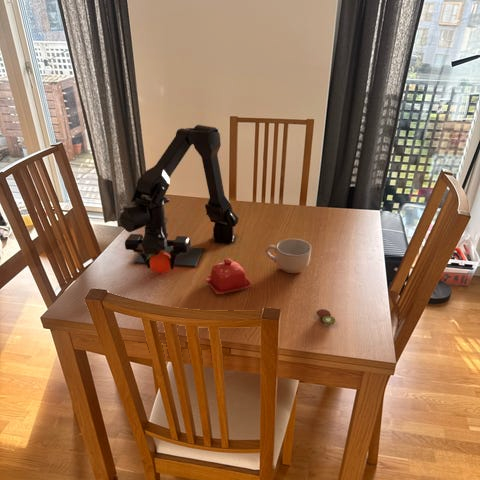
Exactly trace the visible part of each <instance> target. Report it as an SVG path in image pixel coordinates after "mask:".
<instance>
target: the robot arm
mask: <svg viewBox="0 0 480 480" xmlns="http://www.w3.org/2000/svg"><path fill="white" fill-rule="evenodd" d="M191 146H193V147H194V150H196V152H197V154H198V155H199V156H200V157H201V161H202V162H201V163H202V166H203V170H204V172H203V173H204V176H205V181H206V186H207V191H208V196H209V199H208V201H207V203H205V205H204V208H205V211H206V213H205V215H206V216H207V217H208V218H209V221H210V222H211V223H214V225H213V228H212V233H213V234H212V235H213V239H214V240H213V242H214V243H224V244H233V242H234V240H235V233H234V232H235V229H234V228H235V227H236V226H237V225H238V223H239V219H240V218H239V217H238V215H237V214H236V213H235V212H234V210H233V206H232V204H231V201H230V200H229V199H228V198H227V196H226V195H225V190H224V184H223V178H222V174H221V168H220V161H219V155H218V154H219V151H220V149H221V132H220V130H219V129H218V128H217V127H214V126H209V125H203V124H196V125H195V126H194V127H186V128H183V127H181V128H179V129H177V130H176V132H175V135H174V137H173V139H172V140H171V142H170V143H169V144H168V146H167V148H166V149H165V151H164V152H163V153H162V155H161V156H160V158H159V159H158V161H157V163H156V164H155V165H154V166H152V167H151V168H148V169H147V170H146V171H145V172H144V173H143V174H142V175H141V176H140V177H139V178H138V179H137V183H136V186H135V189H134V191H133V192H134V193H133V195H132V197H131V202H130V203H133V204H130V205H126V206H123V207H122V210H123V211H122V212H121V213H120V214H119V215H120V216H119V221H120V225H121V226H122V229H124V230H125V231H126V232H128V233H130V234H129V235H128V237H127V238H126V239H125V241H124V249H125V250H126V251H133V252H134V253H137V254H138V255H139V254H140V255H141V257H142V258H143V260H144V262H145V263H146V264H145V265H146V267H147V268H148V269H151V267H150V264H149V260H150V257H149V258H148V256H149V254H153V255H158V254H159V253H160V251H162V250H166V248H167V246H170V247H172V250H171V252H170V255H171V268H170V270H174V267H175V266H174V264H175V261H176V257H177V254H180V253H181V252H182V253H185V252H187V251H188V249H189V247H190V246H191V238H190V237H189V236H187V235H185V236H183V235H177V236H176V237H175V239H168V236H169V234H168V232H167V220H166V213H165V204H167V203H170V199H169V198H167V197H166V193H167V192H168V189H169V187H170V186H171V185H170V184H171V183H170V181H171V177H172V175H173V173H174V172H175V170H176V168H177V167H178V165H179V164H180V163H181V162H182V160H183V158H184V157H185V156H186V154H187V152H188V151H189V149H190V148H191ZM164 195H165V196H164ZM144 197H146V198H144ZM148 197H149V198H152V199H150V200H149V198H148ZM143 227H144V235H143V234H141V233H132V232H134V231H137V230H139V229H141V228H143ZM147 258H148V259H147ZM146 260H147V261H146Z"/></svg>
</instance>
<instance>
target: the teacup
mask: <svg viewBox="0 0 480 480" xmlns="http://www.w3.org/2000/svg"><path fill="white" fill-rule="evenodd" d="M271 249H272V250H274V253H275V256H274V255H272V254H271V253H270V250H271ZM311 253H312V245H311V243H309V242H308V241H305V240H304V239H300V238H285V239H282V240H280V241H278V243H276V245H274V244H268V245H267V246H266V248H265V255H266V256H267V257H268V258H269V259H271V260H272V261H273V262H274V263H275V264H276V265H277V266H278V267H279V269H281V270H282V271H283V272H284V273H289V274H298V273H301V272H302V271H304V270H306V269H307V268H308V266H309V264H310V261H311Z"/></svg>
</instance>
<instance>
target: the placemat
mask: <svg viewBox="0 0 480 480" xmlns="http://www.w3.org/2000/svg"><path fill="white" fill-rule="evenodd" d="M171 250H172V247H170V246H167V248H166V250H162V251H164V252H166V253H168V254H169V255H170V252H171ZM203 251H204V248H203V247H193V246H192V247H189V249H188V251H187V252H185V253H182V252H181V253H180V254H177V257H176V261H175V264H174V267H188V268H196V267H197V264H198V262H199V260H200V258H201V255H202V253H203ZM149 255H151V254H149ZM150 257H151V256H150ZM170 257H171V255H170ZM134 264H138V265H146V263H145V262H144V260H143V258H142V257H141V255H140V254H139V253H138V256H137V257H136V259H135V260H134Z"/></svg>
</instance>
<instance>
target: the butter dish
mask: <svg viewBox="0 0 480 480" xmlns="http://www.w3.org/2000/svg"><path fill="white" fill-rule="evenodd" d="M204 280H205V281H206V282H207V284H208V285H209V286H210V287H211V289H212V290H213V291H214V293H215V294H217V295H223V294H227V293H232V292H236V291H240V290H246V289H248V288H252V287H253V284H252V283H251V281H250V280H249V278H247V276H246V271H245V270H244V268H243V267H242V265H240V264H239V263H237V262H236V261H233V259H231V258H225V259H224V260H223V262H220V263H217V264H215V265H213V266H212V268H211V272H210V275H207V276H205V278H204Z"/></svg>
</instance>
